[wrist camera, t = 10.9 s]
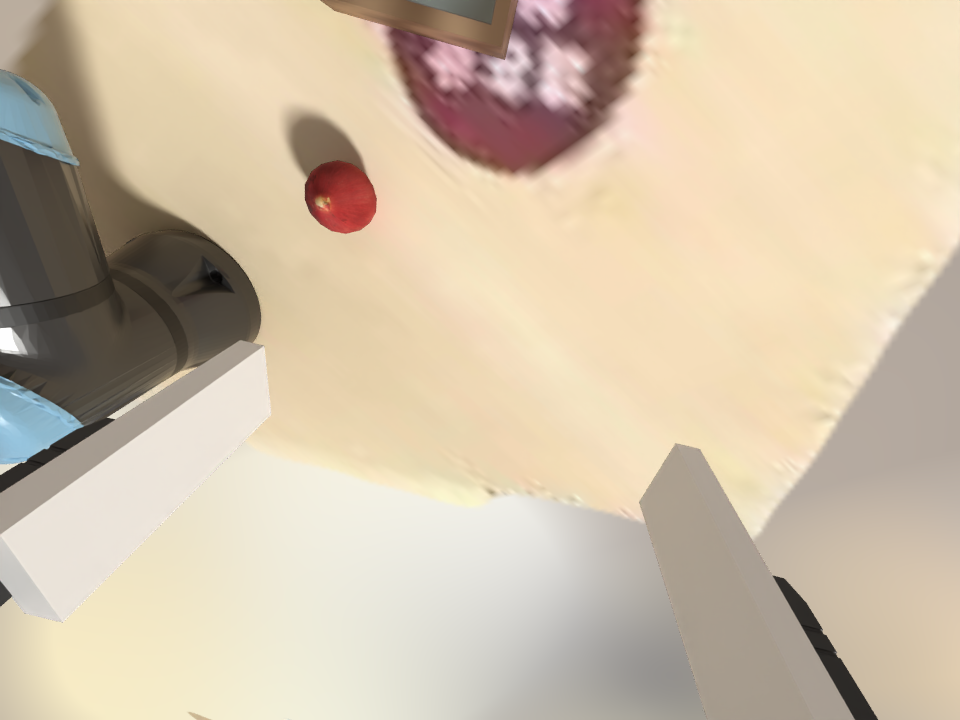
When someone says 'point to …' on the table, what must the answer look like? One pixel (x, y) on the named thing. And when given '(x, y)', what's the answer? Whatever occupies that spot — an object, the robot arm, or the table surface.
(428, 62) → the table surface
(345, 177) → the onion
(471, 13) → the flat stove
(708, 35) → the table surface
